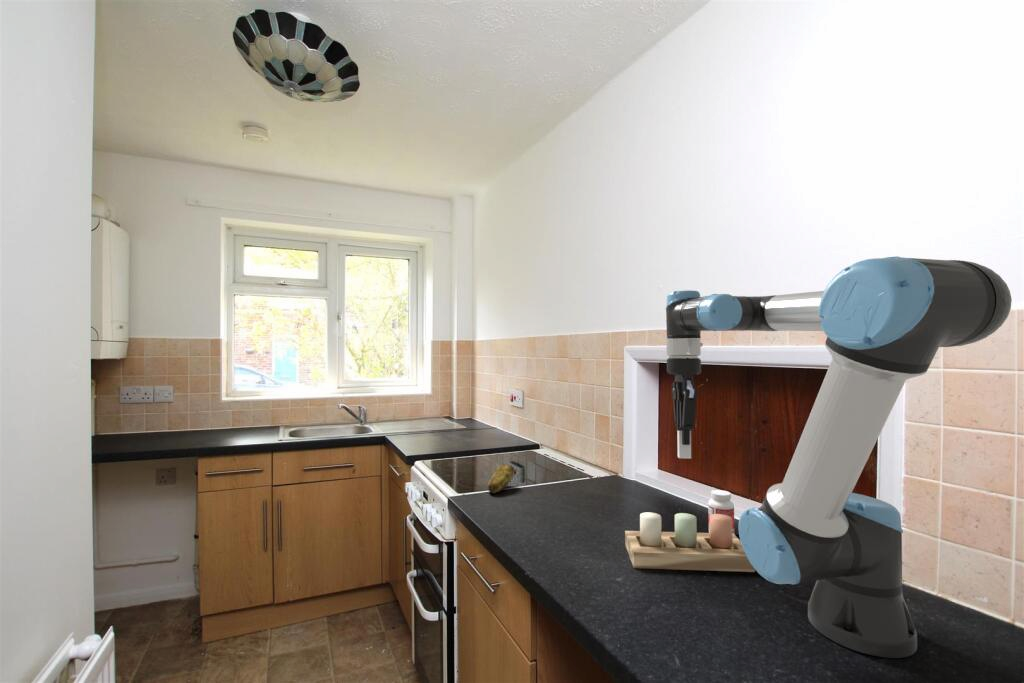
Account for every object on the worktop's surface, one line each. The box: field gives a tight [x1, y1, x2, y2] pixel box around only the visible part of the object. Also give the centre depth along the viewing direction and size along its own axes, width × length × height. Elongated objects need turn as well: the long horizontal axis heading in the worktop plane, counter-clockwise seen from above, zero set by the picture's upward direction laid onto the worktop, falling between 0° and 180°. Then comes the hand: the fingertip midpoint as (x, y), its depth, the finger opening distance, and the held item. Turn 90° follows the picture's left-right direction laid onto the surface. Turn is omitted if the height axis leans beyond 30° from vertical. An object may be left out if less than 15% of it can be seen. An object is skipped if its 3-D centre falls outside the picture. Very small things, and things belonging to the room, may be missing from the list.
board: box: [624, 530, 756, 573], centre depth 108 cm, size 12×26×4 cm, turn 85°
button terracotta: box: [710, 514, 733, 548], centre depth 107 cm, size 5×5×6 cm
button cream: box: [639, 511, 662, 546], centre depth 109 cm, size 5×5×6 cm
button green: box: [674, 512, 698, 547], centre depth 108 cm, size 5×5×6 cm
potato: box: [487, 464, 515, 494], centre depth 160 cm, size 8×13×8 cm, turn 134°
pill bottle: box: [707, 489, 736, 535], centre depth 121 cm, size 6×6×11 cm
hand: (684, 457), depth 109 cm, fingers closed
